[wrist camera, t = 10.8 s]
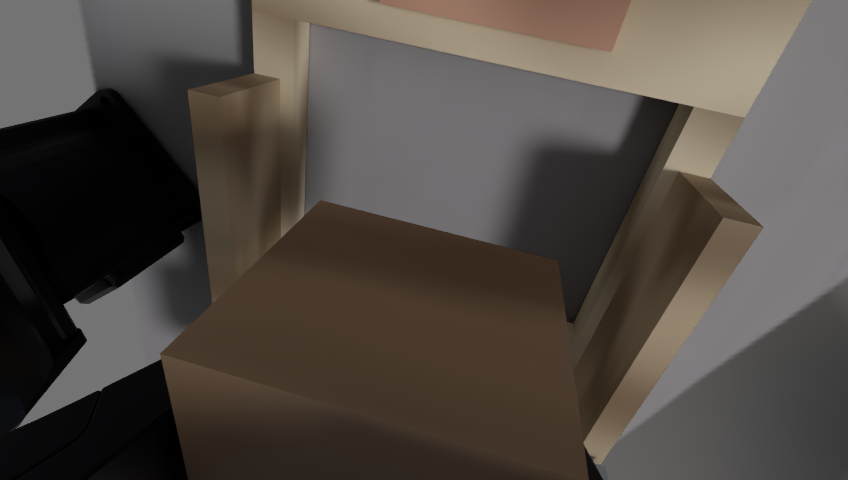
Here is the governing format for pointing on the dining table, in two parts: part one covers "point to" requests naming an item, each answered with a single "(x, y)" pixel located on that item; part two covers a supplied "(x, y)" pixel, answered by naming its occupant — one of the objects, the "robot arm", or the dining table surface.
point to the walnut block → (380, 361)
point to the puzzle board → (552, 55)
